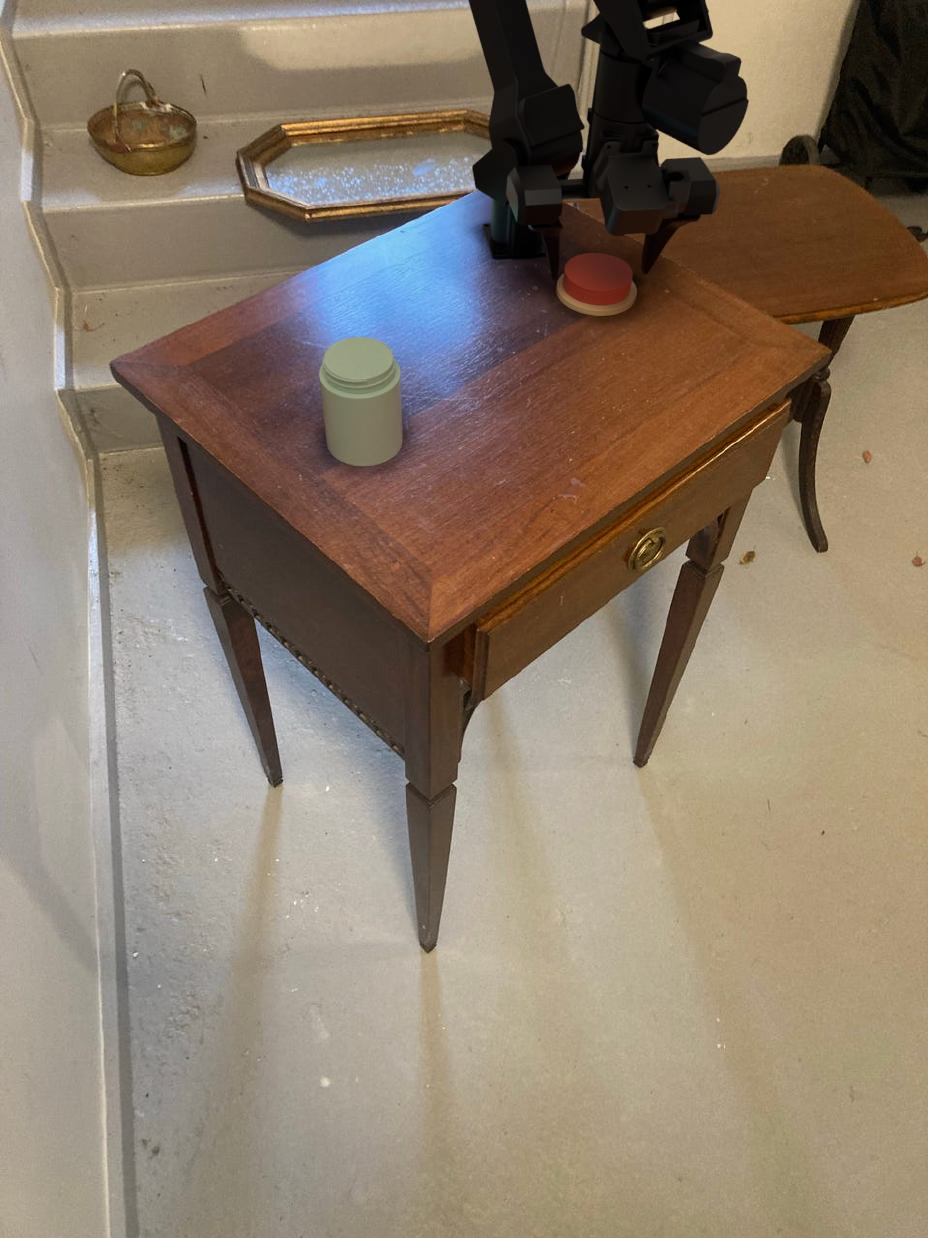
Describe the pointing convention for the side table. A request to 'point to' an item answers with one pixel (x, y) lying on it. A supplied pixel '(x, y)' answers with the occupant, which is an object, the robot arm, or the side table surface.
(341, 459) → the jar
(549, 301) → the side table surface
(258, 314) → the side table surface
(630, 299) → the coaster
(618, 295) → the jar lid
